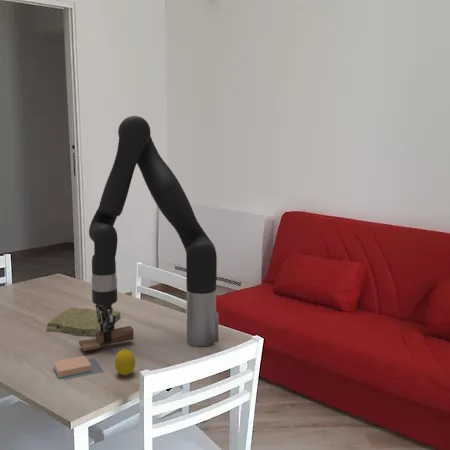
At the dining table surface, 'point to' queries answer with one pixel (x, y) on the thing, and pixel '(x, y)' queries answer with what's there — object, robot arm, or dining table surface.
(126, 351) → the lemon
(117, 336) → the brown long stepped block
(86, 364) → the pink scouring sponge
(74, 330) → the olive green stone slab
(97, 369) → the slate mat
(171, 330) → the dining table surface
